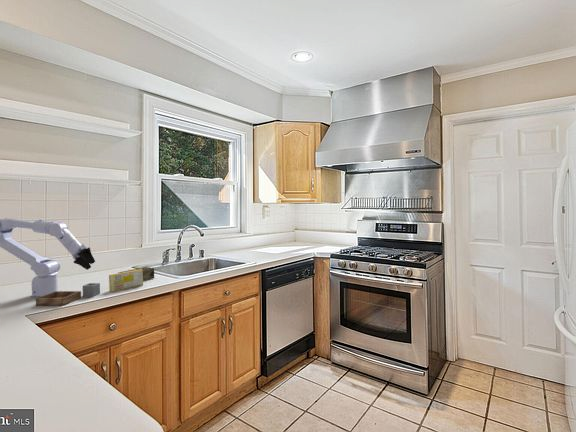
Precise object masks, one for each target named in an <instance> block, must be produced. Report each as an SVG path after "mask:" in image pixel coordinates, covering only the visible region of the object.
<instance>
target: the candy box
mask: <svg viewBox="0 0 576 432" xmlns="http://www.w3.org/2000/svg"><path fill="white" fill-rule="evenodd" d="M127 271H128V270H127ZM122 272H123V271H122ZM108 284H109V287H108V288H109V292H115V291H120V290H125V289H126V290H127V289H131V288H135V287H139V286H143V285H144V281H143V270H142V269H140V270H134V271H128V272H123V273H119V272H117V273H111V274H108Z"/></svg>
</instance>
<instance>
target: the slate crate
mask: <svg viewBox="0 0 576 432" xmlns="http://www.w3.org/2000/svg"><path fill="white" fill-rule="evenodd" d="M100 294H101V283H100V282H99V283H98V282H97V283H96V282H95V283H94V282H93V283H92V282H89V283H87V284H84V285H82V297H84V298H85V297H88V298H91V297H93V298H94V297H95V296H98V295H100Z"/></svg>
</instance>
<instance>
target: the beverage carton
mask: <svg viewBox="0 0 576 432" xmlns="http://www.w3.org/2000/svg"><path fill="white" fill-rule="evenodd" d="M140 269H142V270H143V282H145V281H147V280H151V279H155V268H154V267H148V266H143V267H138V268H133V269H129V270H125V271H124V270H123V271H120V272H118V273H123V272H128V271H134V270H140Z"/></svg>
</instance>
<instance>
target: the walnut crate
mask: <svg viewBox="0 0 576 432" xmlns="http://www.w3.org/2000/svg"><path fill="white" fill-rule="evenodd" d="M79 299H82V291H81V290H80V291H79V290H76V291H75V290H70V291H69V290H65V291H64V290H58V291H55V292H52V293H50V294H47V295H44V296H42V297H36V298H35V307H44V306H45V307H46V306H47V307H56V306H57V307H60V306H61V307H62V306H66V305H69V304H70V303H73V302H75V301H77V300H79Z"/></svg>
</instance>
